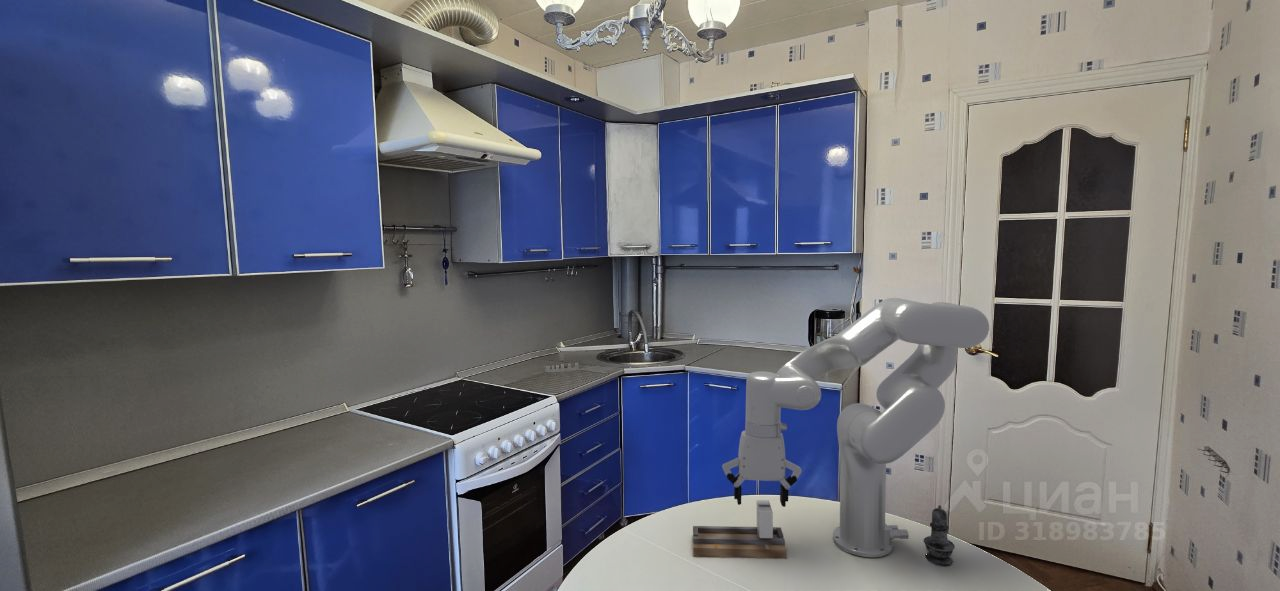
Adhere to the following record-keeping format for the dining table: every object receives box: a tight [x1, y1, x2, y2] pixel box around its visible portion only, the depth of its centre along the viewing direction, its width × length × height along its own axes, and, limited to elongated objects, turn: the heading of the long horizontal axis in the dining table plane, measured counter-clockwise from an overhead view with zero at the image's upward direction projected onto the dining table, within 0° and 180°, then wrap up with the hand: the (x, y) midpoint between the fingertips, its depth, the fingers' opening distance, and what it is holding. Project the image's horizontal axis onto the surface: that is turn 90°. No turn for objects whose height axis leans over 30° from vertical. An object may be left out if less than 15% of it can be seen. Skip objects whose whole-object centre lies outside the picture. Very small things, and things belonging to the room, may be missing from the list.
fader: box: [756, 499, 774, 538], centre depth 125 cm, size 3×6×8 cm, turn 175°
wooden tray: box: [692, 525, 787, 560], centre depth 125 cm, size 20×9×4 cm, turn 85°
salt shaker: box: [923, 504, 956, 567], centre depth 118 cm, size 6×6×12 cm
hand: (760, 503), depth 124 cm, fingers open, 9 cm apart
